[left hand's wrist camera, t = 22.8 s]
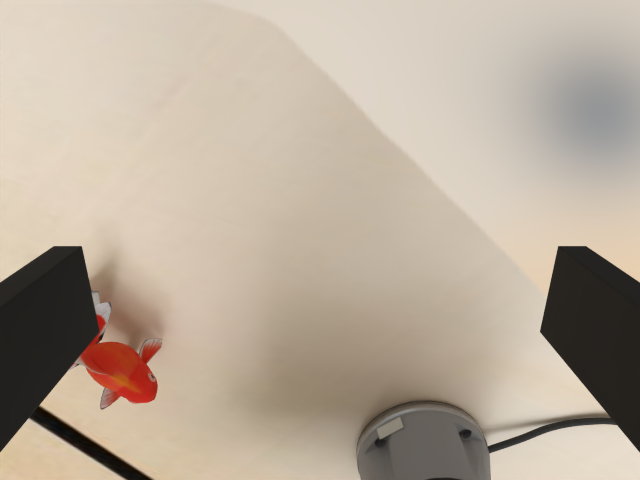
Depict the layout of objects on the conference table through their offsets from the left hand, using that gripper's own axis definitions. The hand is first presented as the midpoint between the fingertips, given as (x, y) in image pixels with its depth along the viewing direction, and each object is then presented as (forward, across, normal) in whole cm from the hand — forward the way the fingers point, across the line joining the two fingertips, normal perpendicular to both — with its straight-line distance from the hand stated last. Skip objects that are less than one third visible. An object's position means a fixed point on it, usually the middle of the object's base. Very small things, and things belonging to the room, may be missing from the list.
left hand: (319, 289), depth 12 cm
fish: (+29, -23, -20) cm, 42 cm away
